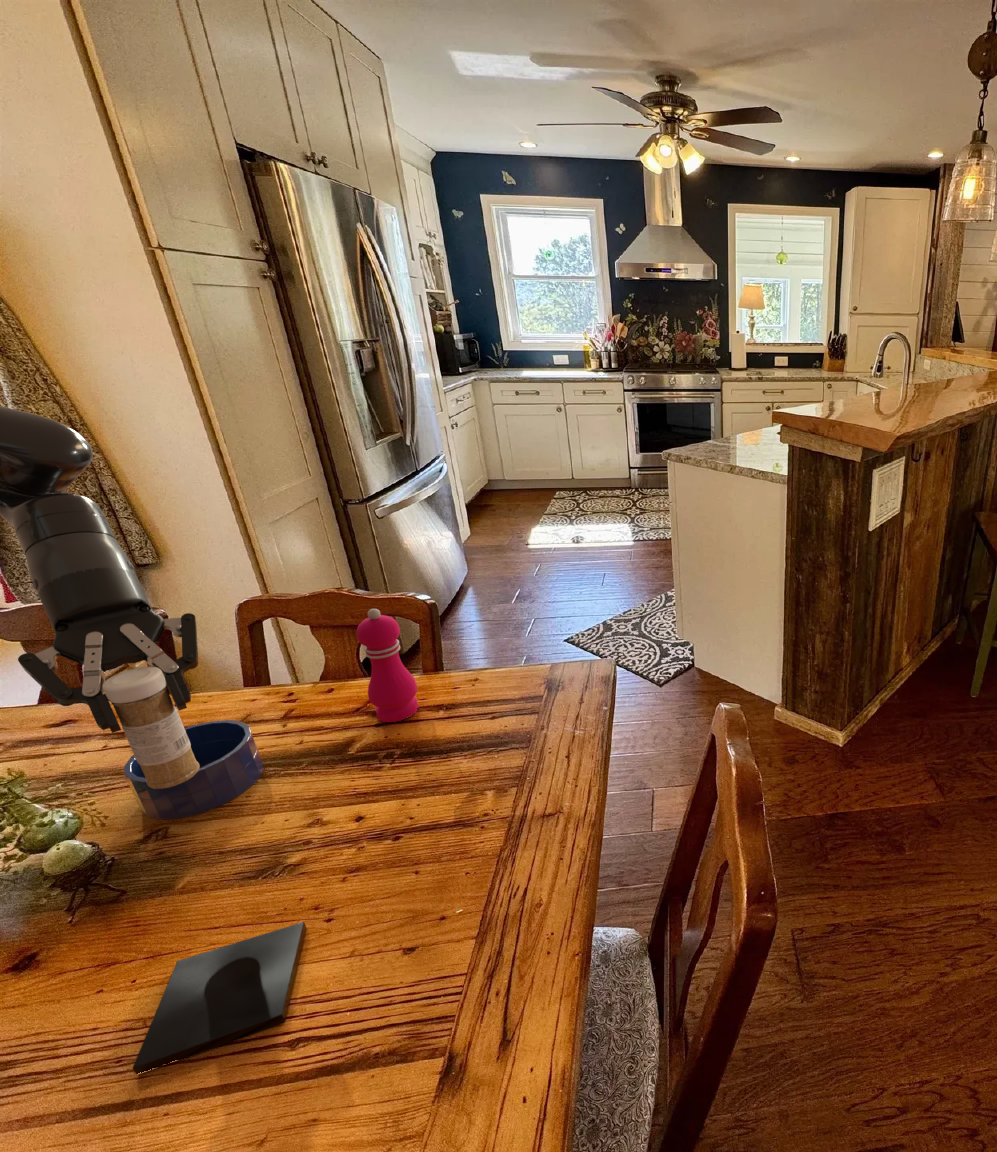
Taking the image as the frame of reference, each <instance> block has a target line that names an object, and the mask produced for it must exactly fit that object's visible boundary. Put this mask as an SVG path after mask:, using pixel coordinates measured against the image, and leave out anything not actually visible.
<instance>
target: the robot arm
mask: <svg viewBox="0 0 997 1152" xmlns="http://www.w3.org/2000/svg"><path fill="white" fill-rule="evenodd" d="M93 457H94V451H93V447H92V446H91V445H90V443H89V442H88V441H87V440H86V439H85V437H84V436H82V434H80V433H79V432H77V431H76V430H74V429H73V428H71V427H69V426H68V425H65V424H63V423H62V422H59V421H58V420H55V419H53V418H49V417H46V416H43V415H39V414H37V413H33V412H28V411H23V410H19V409H15V408H10V407H5V406H1V405H0V517H1V518H3V520H5V521H6V522H7V523H8V524H9V525H10V526H11V527H12V528H13V531H14V533H15V537H16V539H17V542H18V543H19V545H20V548H21V550H22V552H23V555H24V557H25V559H26V563H27V567H28V568H27V569H28V573H29V576H30V579H31V583H32V587H33V589H34V590H35V591H36V593H37V596H38V597H39V599H40V601H41V602H40V603H41V605H42V607H43V609H44V611H45V614H46V616H47V618H48V620H49V624H50V625H51V628H52V629H53V631H54V636H55V637H54V639H53V642H52V646H50V647H47V648H44V649H43V650H41V651H37V652H36V653H32V652H25V653H23V654H20V655H19V656H18V658H17V661H18V663H19V664H20V666H21V667H22V668H23V670H24V672H25V673H27V674H28V675H29V676H30V678H32V679H33V680H34V681H35V682H36V683H37V684H38V685H39V686H40V687H41V688H43V690H44V691H45V692H46V693H48V694H49V695H50V696H51V697H52V699H54V700H55V701H56V702H57V703H58V704H59V705H60V706H62V707H69V706H72V705H76V704H77V705H78V704H84V705H87V706H88V708H89V709H90V712H91V715H92V716H93V719H94V721H95V723H96V725H97V727H98V728H99V729H101V730H102V731H105V730H108V729H110V731H111V733H112V734H114V733H116V732H119V731H122V727H121V726H120V724H119V721H118V719H117V717H116V714H115V712H114V710H113V708H112V706H111V705H112V704H111V702H110V701H108V699H107V697H106V695H105V693H104V690H103V683H104V682H105V681H106V680H107V679H106V677H107V672H108V671H111V670H115V669H117V668H119V667H122V666H123V665H128V664H136V663H141V662H145V663H146V664H147V665H148V666H149V667H156V668H159V669H160V670H161V671H162V673H163V675H164V677H165V680H166V682H167V690H168V692H169V695H170V697H171V699H172V701H173V703H174V705H175V707H176V709H177V712H179V711H182V710H185V709H187V706H188V705H187V704H188V703H190V702H191V701H192V693H191V691H190V689H189V687H188V685H187V683H186V680H185V678H184V674H185V673H186V672H189V671H190V670H193V669H196V668H197V667H198V666H199V650H198V649H199V647H198V626H197V619H196V615H195V614H194V613H191V612H187V613H184V614H181V617H172V618H171V617H169V618H163V616H161V615H159V614H158V613H157V612H155V611H154V609H153V608H152V606H151V603H150V602H149V599H148V598H147V595H146V593H145V591H144V589H143V586H142V584H141V582H140V580H139V578H138V575H137V574H136V571H135V566H134V565H133V564H132V562H131V561H130V558H129V557H128V555H127V554H126V552H125V551H124V549H123V548H122V547H121V546H120V543H119V542H118V540H117V538H116V536H115V534H114V531H113V529H112V527H111V525H110V523H109V521H108V518H107V516H106V515H105V513H104V511H103V510H102V508H101V507H100V506H99V504H98V503H96V502H95V501H94V500H92V499H91V498H89V497H86V496H84V495H81V494H76V493H67V489H68V488H69V486H71V484H72V483H74V481H76V480H77V478H78V477H80V475H82V473H83V472H85V470H86V469H87V468H88V467H89V466H90V465H91V463H92V461H93ZM165 630H168V631H171V632H172V635H173V636H174V637H176V638H181V656H180V657H179V658H177V659H176V660H173V659H172V658H171V657H170V656H168V655H167V654H166V653H165V651H164V650H163V649H162V648H161V647H160V646H158V643H159V641H160V639H161V637H162V635H163V633H164V631H165ZM59 657H63V658H65V659H68V660H70V661H72V662H75V663H78V664H79V665H82V666H83V668H82V676H83V678H82V687H70V686H69V685H67V683H65V682H64V681H63V679H61V678H60V677H59V676H58V675H57V674H55V672H54V671H56V670H57V669H58V666H59V664H58V663H57V660H58V658H59Z"/></svg>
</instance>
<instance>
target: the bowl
mask: <svg viewBox="0 0 997 1152" xmlns="http://www.w3.org/2000/svg"><path fill="white" fill-rule="evenodd" d="M184 729H185V731H186V734H187V736H188V739H189V741H190V744H191V749H192V752H193V754H194V757H195V759H196V761H197V762H198V763H199V765H200V768H199V770H198V772H197V773H196V774H195V775H194V776H193V777H192V778H190V779H189V780H187V781H185V782H183V783H181V784H178V785H175V786H172V787H168V788H159V789H154V788H151V787H149V786H148V785H147V783H146V778H145V775H144V773H143V771H142V768H141V766H140V764H139V763H138V762H137V760H136V758H135V756H134V754H133V755H131V756H130V757H129V759H128V760H127V762H126V763H125V765H123V775H124V777H125V779H126V782H127V784H128V786H129V789H130V790H131V792H132V794H133V796H134V799H135V801H136V802H137V805H138V807H139V809H140V811H142V812H143V814H144V815H145V816H146V817H148V818H151V819H154V820H155V819H156V820H176V819H182V818H187V817H192V816H196V815H199V814H203V813H204V812H207V811H211V810H213V809H215V808H218V807H220V806H222V805H224V804H226V803H228V802H230V801H232V800H234V799H235V798H237V797H238V796H240V795H242V794H243V793H245V792H246V791H247V790H248V789H250V788H251V787H252V786H253V785H255V783H256V782H257V781H258V780H259V778H260V777H261V775H262V773H263V771H264V763H263V760H262V757H261V754H260V751H259V748H258V746H257V743H256V740H255V738H254V735H253V733H252V729H251V727H250V726H249V724H246V723H245V722H243V721H239V720H233V719H224V720H212V721H206V722H201V723H195V724H193V725H190V726H187V727H184Z"/></svg>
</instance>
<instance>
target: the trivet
mask: <svg viewBox="0 0 997 1152" xmlns="http://www.w3.org/2000/svg"><path fill="white" fill-rule="evenodd" d="M307 930H308V929H307V926H306V923H305V921H302V922H298V923H295V924H292V925H289V926H286V927H282V928H278V929H275V930H273V931H269V932H265V933H262V934H259V935H256V936H254V937H250V938H247V939H243V940H240V941H237V942H233V943H230V944H227V945H224V946H220V947H218V948H215V949H212V950H208V951H205V952H201V953H199V954H194V955H192V956H188V957H186V958H182V959H178V960H176V963H175V965H174V968H173V970H172V971H171V972H172V973H171V975H170V977H169V980H168V982H167V985H166V986H165V987H166V988H165V989H164V992H163V994H162V996H161V999H160V1001H159V1004H158V1006H157V1008H156V1010H155V1013H154V1016H153V1018H152V1020H151V1023H150V1025H149V1028H148V1030H147V1032H146V1034H145V1037H144V1040H143V1042H142V1044H141V1047H140V1050H139V1052H138V1053H137V1056H136V1059H135V1061H134V1064H133V1066H132V1071H133V1072H134V1073H135V1075H136V1074H138V1073H140V1072H141V1073H142V1072H144V1071H148V1070H150V1069H151V1070H152V1068H156V1067H160V1066H162V1065H163V1064H168V1063H170V1062H172V1061H175V1060H180V1061H182V1060H181V1059H183V1060H185V1059H184V1058H186V1059H188V1058H191V1057H193V1056H196V1054H197V1055H199V1054H202V1053H204V1052H208V1051H210V1050H213V1049H215V1048H219V1047H221V1045H222V1046H224V1045H226V1044H229V1043H232V1041H233V1042H235V1041H238V1040H241V1039H243V1038H247V1037H249V1036H251V1035H255V1034H257V1033H260V1032H263V1031H266V1030H268V1029H270V1028H275V1027H277V1026H279V1025H282V1024H285V1023H286V1021H287V1017H288V1012H289V1009H290V1003H291V1000H292V995H293V990H294V986H295V982H296V978H297V973H298V968H299V965H300V960H301V955H302V952H303V947H304V944H305V943H304V942H305V938H306V934H307ZM209 1049H210V1050H209ZM207 1050H208V1051H207ZM201 1052H202V1053H201ZM190 1056H191V1057H190Z"/></svg>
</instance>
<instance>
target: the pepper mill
mask: <svg viewBox="0 0 997 1152" xmlns="http://www.w3.org/2000/svg"><path fill="white" fill-rule="evenodd" d="M400 634H401V628H400V625H399V623H398V621H396V619H394V618H393V617H392V616H389V615H384V614H381V611H380V610H379V609H377V608H371V609H369V610H368V611H367V618H365V619H364V620H362V621H361V622H360V623H359V624H358V626H357V628H356V639H357V641H358V642H359V644H360V645H362V646H364V648H363V650H364V652H365V654H364V655H365V657H366V658H368V659H369V661H370V665H371V674H370V679H369V683H368V686H367V696H368V701H369V703H370V704H372V705H373V706H374V707H375V708H374V709H375V714H376V718H377V720H378V721H379V720H380V721H379V722H381V721H383V722H382V723H385V722H394V723H397V722H396V721H399V722H401V721H400V720H403V719H405V718H407V717H409V716H411V715H413V714H414V713H415V712H416V711H417V712H418V710H417V708H418V709H419V703H418V698H417V697H416V695H417V693H418V685H417V682H416V679H415V677H414V676H413V675H412V673H411V672H410V671H409V670H408V669H407V667H405V665H404V664H403V662H402V660H401V657H400V652H399V651H400V650H401V645H400V640H399V639H398V638H399V636H400ZM417 712H416V713H417ZM416 713H415V714H416ZM415 714H414V715H415ZM414 715H413V716H414ZM411 717H412V716H411ZM405 720H406V719H405ZM403 721H404V720H403Z"/></svg>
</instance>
